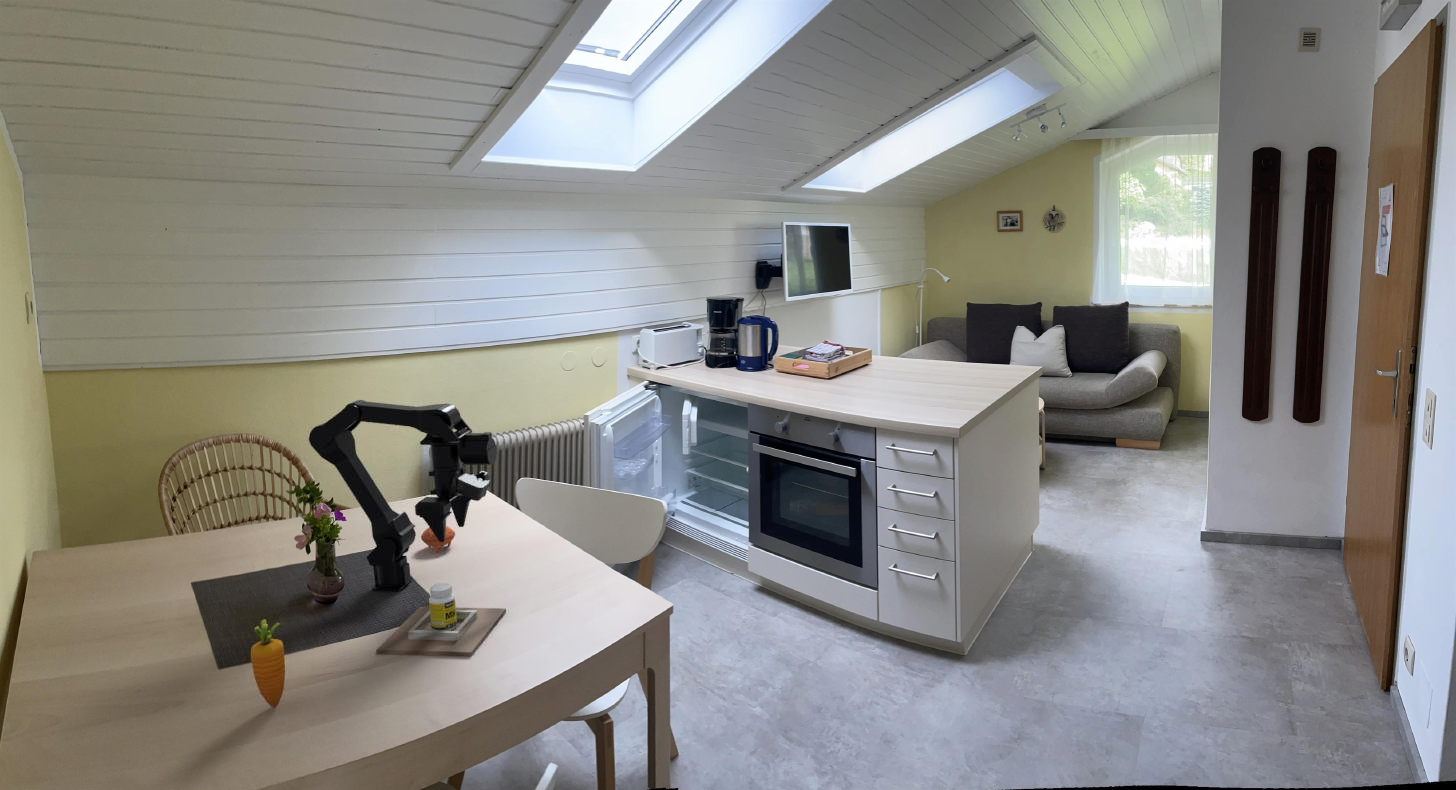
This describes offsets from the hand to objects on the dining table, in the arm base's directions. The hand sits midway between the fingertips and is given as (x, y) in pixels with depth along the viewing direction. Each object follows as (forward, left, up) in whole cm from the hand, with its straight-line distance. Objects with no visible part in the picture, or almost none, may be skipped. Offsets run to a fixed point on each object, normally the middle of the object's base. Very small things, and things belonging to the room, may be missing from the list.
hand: (451, 534), depth 181 cm
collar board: (+7, -21, -12) cm, 25 cm away
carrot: (-10, -48, -12) cm, 51 cm away
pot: (-13, +22, -12) cm, 28 cm away
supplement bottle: (+7, -21, -11) cm, 25 cm away
